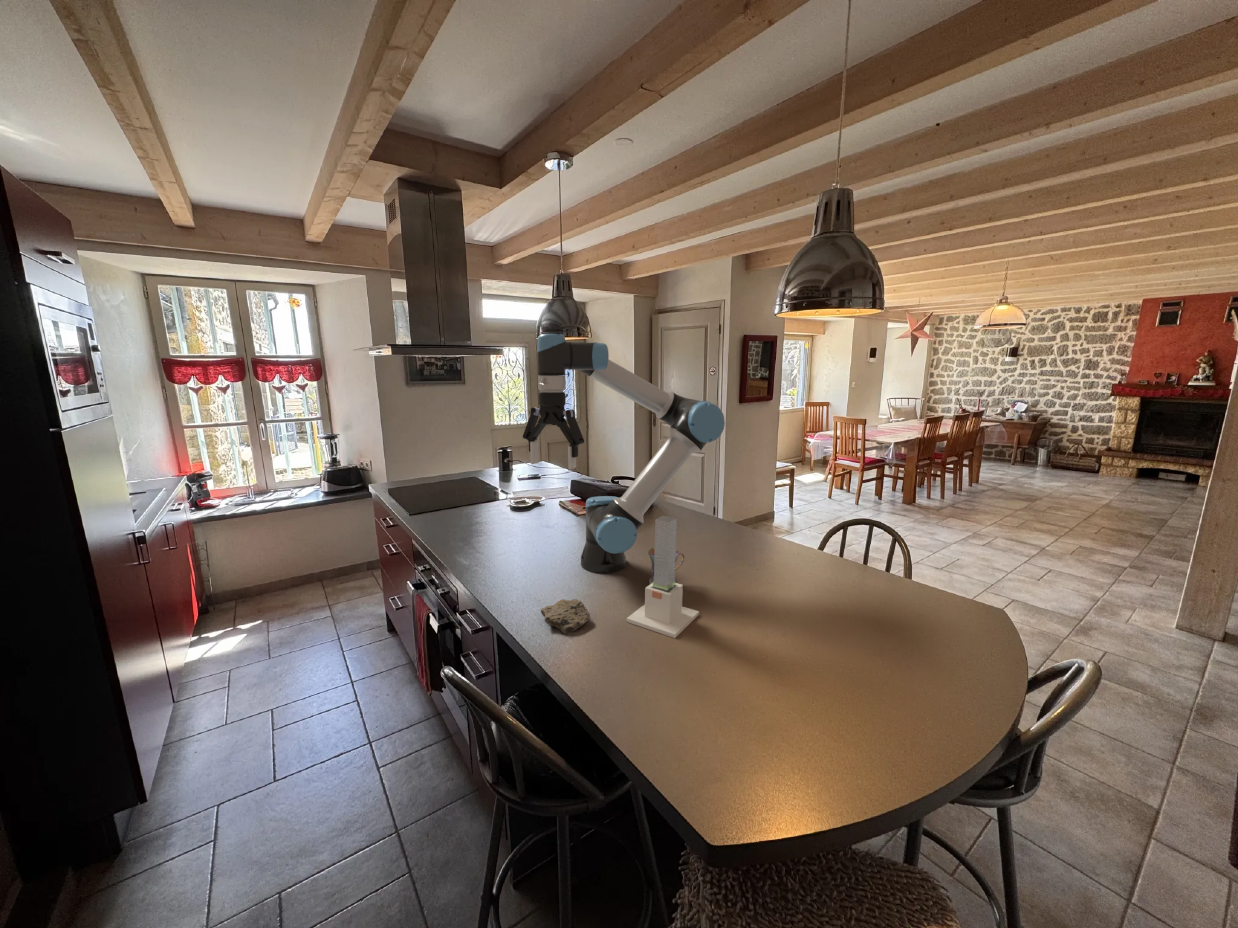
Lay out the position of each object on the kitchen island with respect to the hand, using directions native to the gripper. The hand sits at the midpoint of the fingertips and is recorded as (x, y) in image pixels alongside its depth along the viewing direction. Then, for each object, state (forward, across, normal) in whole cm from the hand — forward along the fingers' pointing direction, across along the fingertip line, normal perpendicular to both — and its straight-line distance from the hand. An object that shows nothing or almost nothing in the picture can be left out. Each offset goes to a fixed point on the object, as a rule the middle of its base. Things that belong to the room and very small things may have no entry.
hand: (553, 466), depth 141 cm
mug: (+37, +28, +19) cm, 50 cm away
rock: (+37, +16, -15) cm, 43 cm away
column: (+30, +36, 0) cm, 47 cm away
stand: (+37, +36, 0) cm, 52 cm away
